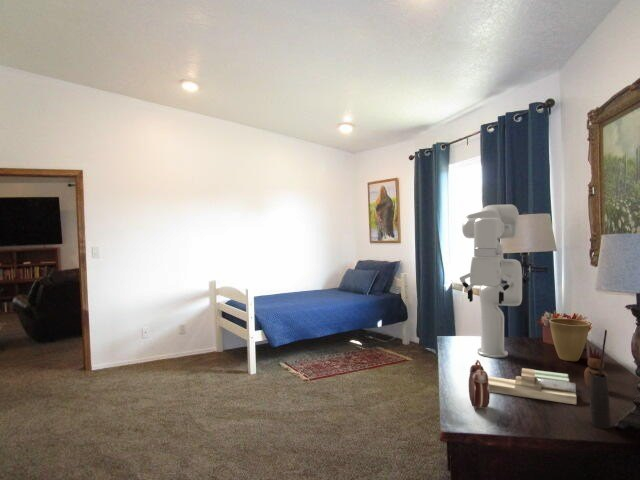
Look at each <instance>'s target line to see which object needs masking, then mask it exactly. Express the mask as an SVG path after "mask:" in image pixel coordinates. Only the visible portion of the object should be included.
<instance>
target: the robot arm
mask: <svg viewBox="0 0 640 480" xmlns="http://www.w3.org/2000/svg"><path fill="white" fill-rule="evenodd" d="M461 230H462V234H463V237H464V238H467V239H473V254H474V255H473V256H472V257H471V262H470V271H469V273H467V274H464V275H462V276H460V277H459V280H460V282H461V284H462V286H463V287H464V288H465V290H466V291H467V299H468V300H469V303H472V302H473V301H474V295H473V294H474V291H473V287H474V286H477V287H479V289H478V295H479V302H480V315H481V316H480V320H481V321H480V330H481V331H480V337H481V338H480V341H481V342H480V348H478V349H477V353H478V355H480V356H484V357H487V358H494V359H497V358H498V359H499V358H505V357H508V355H509V352H508V351H507V350H505V315H504V312H503V311H502V309H501V308H500V307H499V306H507V307H518V306H520V305H521V304H522V301H523V269H522V264H521V261H519V260H517V259H514V258H504V248H503V245H502V243H501V242H500V241H499V239H500V240H502V239H504V240H506V239H509V240H511V239H516V238H518V236H519V233H520V214H519V210H518V208H517V206H516V205H514V204H511V203H510V204H490V205H489V204H488V205H486V206H484V207H483V208H482V209H481V211H479V212H475V213H470V214H468V215H467V216H465V218H464V219H463V222H462V227H461ZM468 278H469V282H470V284H469V283H467V282H466V279H468ZM503 281H505V282H506V283H502V282H503Z"/></svg>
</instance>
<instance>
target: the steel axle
mask: <svg viewBox="0 0 640 480" xmlns="http://www.w3.org/2000/svg"><path fill="white" fill-rule="evenodd" d="M535 384H538V385H541V388H546V389H553V390H560V391H567V392H575V393H577V392H576V391H577V389H576V388H577V387H576V382H570V381H569V382H563V381H556V380H548V379H540V378H535Z"/></svg>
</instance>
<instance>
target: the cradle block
mask: <svg viewBox="0 0 640 480" xmlns="http://www.w3.org/2000/svg"><path fill="white" fill-rule="evenodd" d="M534 370H535V378H540V379H548V380H556V381H563V382H570V378H569V374H568V373H560V372H553V371H546V370H545V371H544V370H538V369H537V370H536V369H534Z"/></svg>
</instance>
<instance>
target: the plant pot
mask: <svg viewBox="0 0 640 480" xmlns="http://www.w3.org/2000/svg"><path fill="white" fill-rule="evenodd" d="M590 325H591V324H590V322H587V321H584V320H582V319H581V320H578V319H575V318H574V319H572V318H552V319H551V318H550V319H549V326H550V332H551V338H552V341H553V345H554V348H555V351H556V354H557V356H558V358H559V359H560V360H563V361H568V362H578V361H579V360H580V358H581V356H582V354H583V351H584V350H585V349H584V348H585V345H586V342H587V339H588V336H589V335H588V334H589V329H590Z"/></svg>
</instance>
